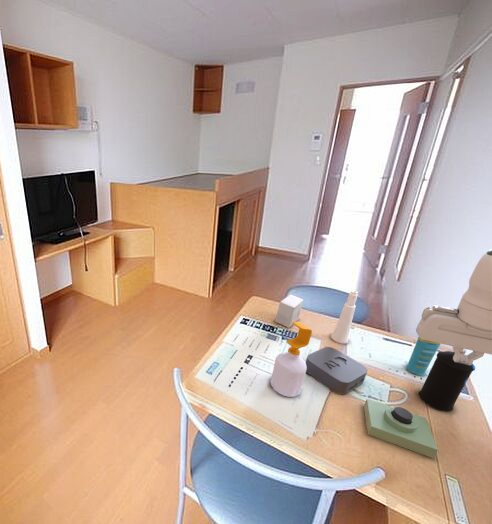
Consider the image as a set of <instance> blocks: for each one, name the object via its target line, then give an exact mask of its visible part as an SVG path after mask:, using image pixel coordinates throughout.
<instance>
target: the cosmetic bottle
mask: <svg viewBox="0 0 492 524" xmlns="http://www.w3.org/2000/svg"><path fill="white" fill-rule="evenodd" d="M358 293H359V292H358V291H357V290H353V289H351V290H350V292H349V293H348V296H347V299H346V302H345V303H344V304H343V307H342V310H341V312H340V315H339V318H338V320H337V323H336V324H335V325H336V326H335V327H334V330H333V332H332V333H331V335H330V338H331V340H333V341H334V342H336V343H338V344H348V343H349V336H350V331H351V326H352V323H353V318H354V315H355V311H356V307H357V306H356V302H357V299H358V296H359V294H358Z"/></svg>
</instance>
